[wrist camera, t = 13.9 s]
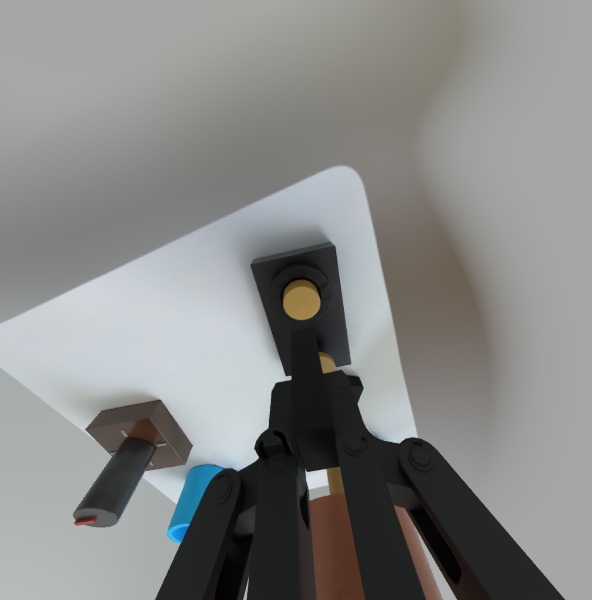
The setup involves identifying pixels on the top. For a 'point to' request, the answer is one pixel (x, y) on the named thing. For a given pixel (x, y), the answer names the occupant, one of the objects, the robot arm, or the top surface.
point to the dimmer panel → (143, 432)
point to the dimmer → (115, 485)
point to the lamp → (351, 540)
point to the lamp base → (325, 276)
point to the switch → (301, 300)
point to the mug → (190, 500)
